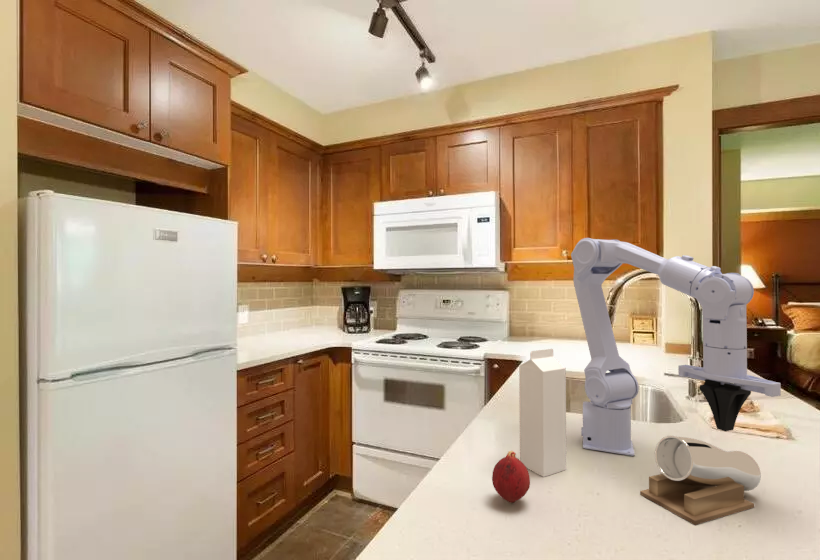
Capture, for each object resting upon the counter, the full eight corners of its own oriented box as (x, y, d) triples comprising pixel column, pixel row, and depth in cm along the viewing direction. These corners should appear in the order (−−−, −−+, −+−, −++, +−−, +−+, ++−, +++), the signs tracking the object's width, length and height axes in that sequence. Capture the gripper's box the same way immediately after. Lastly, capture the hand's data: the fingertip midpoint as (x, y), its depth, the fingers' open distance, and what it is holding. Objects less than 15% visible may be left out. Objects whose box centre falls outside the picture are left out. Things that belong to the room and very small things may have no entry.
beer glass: (773, 488, 64) (701, 476, 60) (731, 498, 69) (662, 486, 65) (750, 442, 68) (683, 428, 64) (712, 454, 73) (647, 441, 69)
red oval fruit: (523, 516, 61) (523, 462, 61) (486, 505, 64) (486, 454, 64) (534, 499, 66) (534, 449, 66) (499, 489, 69) (499, 441, 69)
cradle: (640, 494, 67) (640, 475, 67) (695, 481, 72) (695, 463, 72) (695, 525, 59) (694, 503, 59) (754, 507, 63) (754, 487, 63)
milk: (566, 470, 76) (567, 350, 76) (543, 477, 73) (543, 353, 73) (541, 457, 82) (541, 346, 82) (518, 464, 79) (518, 348, 79)
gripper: (793, 352, 62) (793, 441, 62) (697, 339, 76) (697, 413, 76) (763, 355, 60) (763, 448, 60) (669, 341, 74) (670, 417, 74)
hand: (725, 429), depth 68 cm, fingers closed
